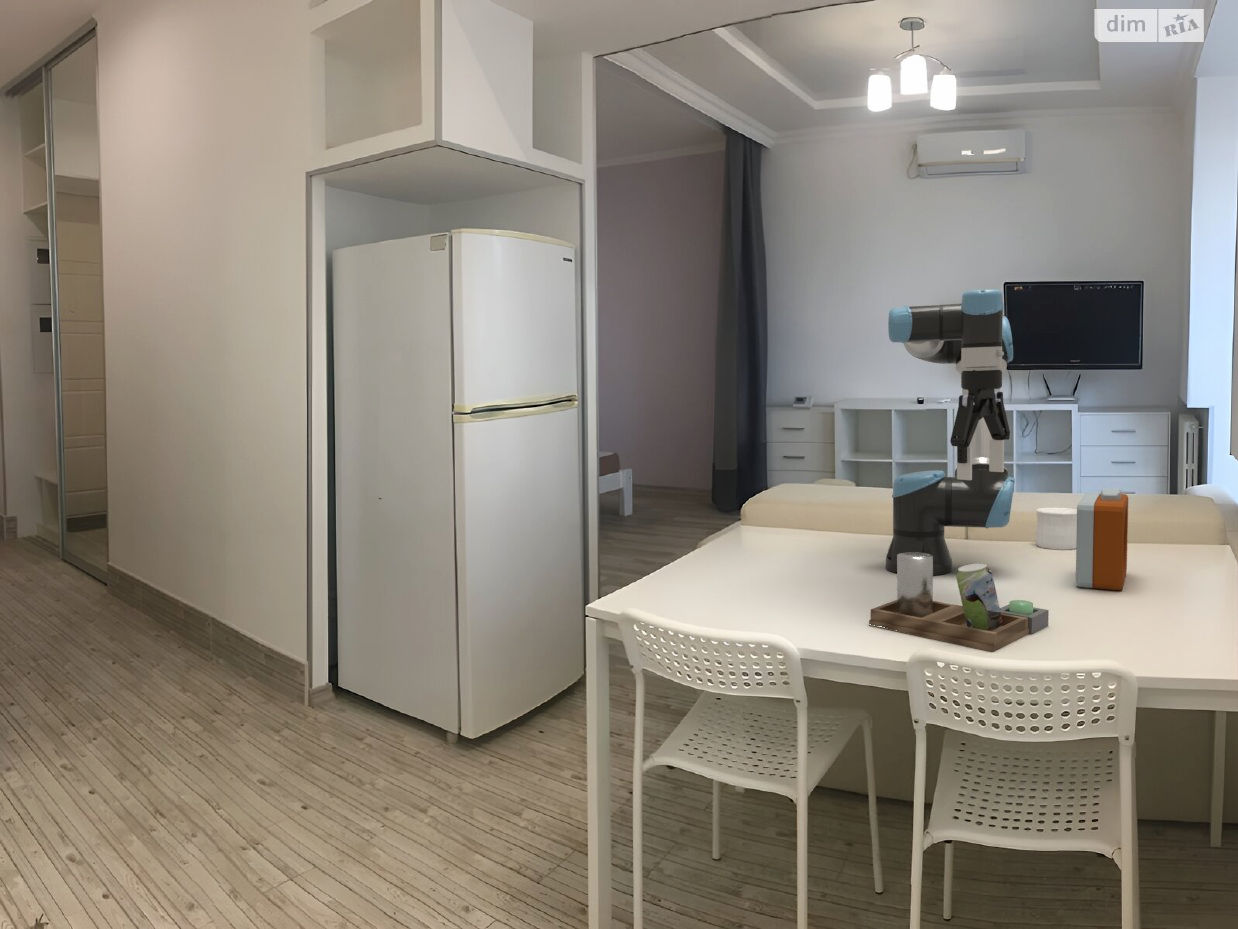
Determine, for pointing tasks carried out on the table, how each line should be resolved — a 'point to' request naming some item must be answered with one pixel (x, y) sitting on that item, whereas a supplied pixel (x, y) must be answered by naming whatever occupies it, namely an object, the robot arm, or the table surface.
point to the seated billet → (915, 584)
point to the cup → (1056, 528)
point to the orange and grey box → (1102, 540)
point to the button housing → (1032, 618)
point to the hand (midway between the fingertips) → (980, 475)
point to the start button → (1021, 607)
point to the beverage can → (979, 597)
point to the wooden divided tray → (950, 626)
